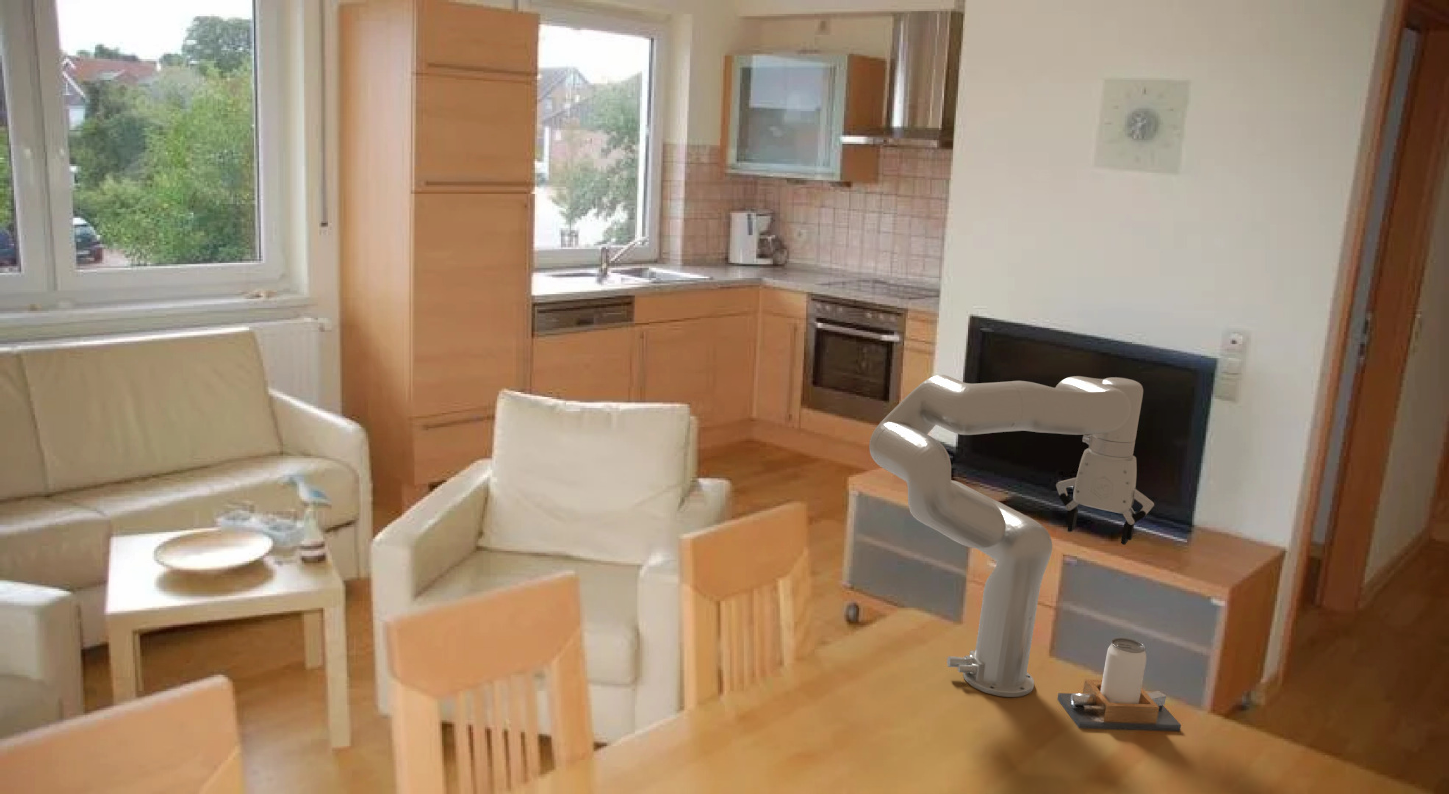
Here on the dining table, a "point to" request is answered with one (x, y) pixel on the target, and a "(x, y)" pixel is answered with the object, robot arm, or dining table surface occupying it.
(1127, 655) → the can
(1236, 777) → the dining table surface
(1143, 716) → the base
